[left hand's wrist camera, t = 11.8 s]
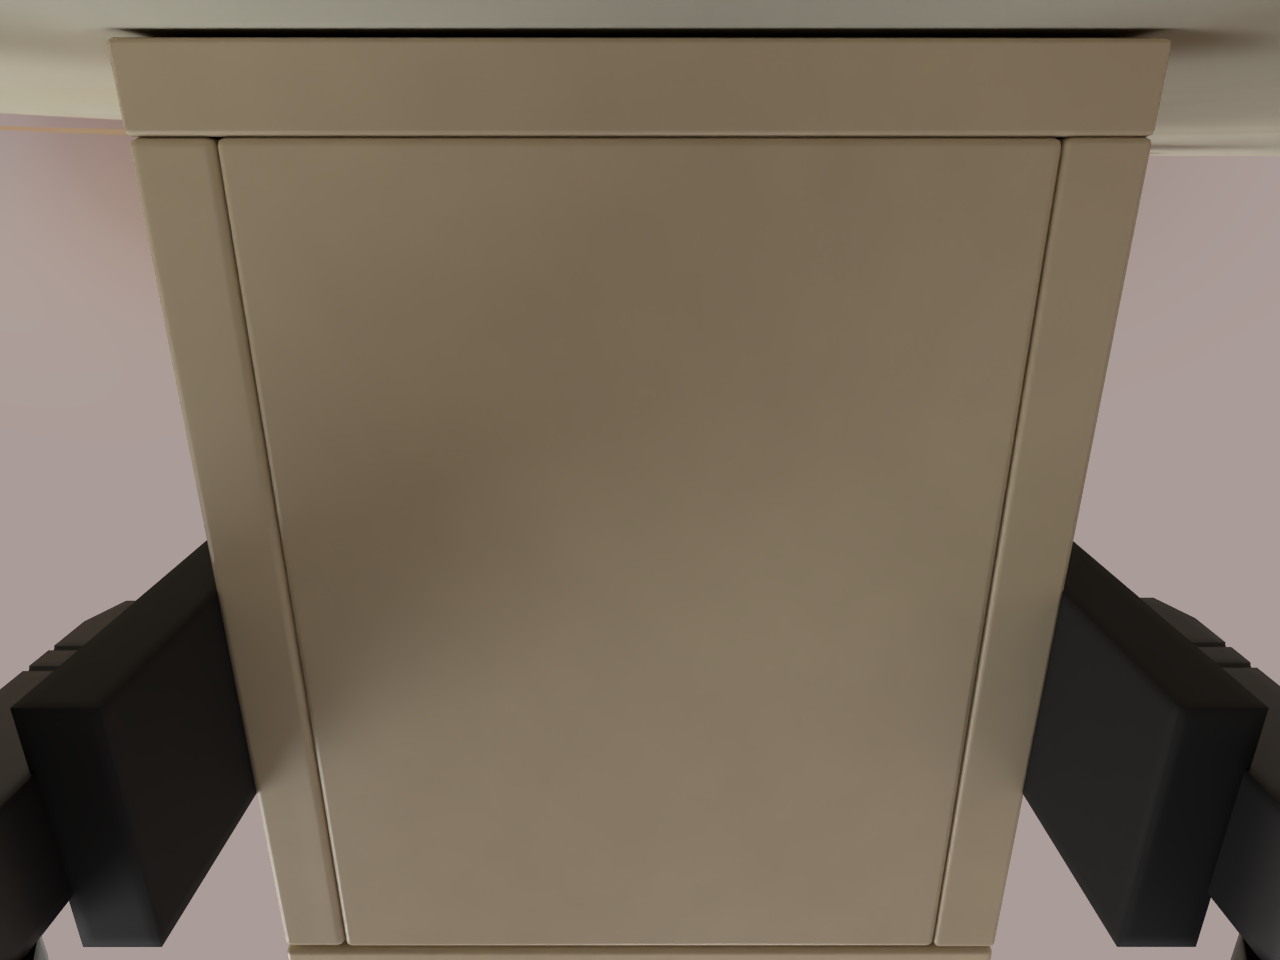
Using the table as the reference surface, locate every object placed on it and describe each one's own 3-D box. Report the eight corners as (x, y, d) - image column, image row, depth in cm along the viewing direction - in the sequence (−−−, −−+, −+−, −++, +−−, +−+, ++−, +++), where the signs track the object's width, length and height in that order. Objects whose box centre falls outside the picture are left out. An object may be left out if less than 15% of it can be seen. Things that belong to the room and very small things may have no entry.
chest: (840, 120, 19) (808, 539, 23) (438, 120, 19) (470, 539, 23) (1175, 37, 7) (994, 948, 11) (103, 36, 7) (284, 948, 11)
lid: (803, 532, 23) (785, 782, 26) (474, 532, 23) (493, 782, 26) (994, 951, 11) (917, 1337, 14) (284, 951, 11) (360, 1337, 14)
